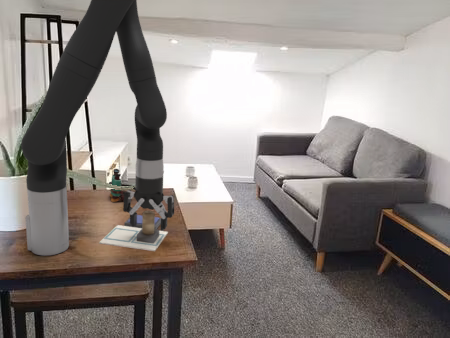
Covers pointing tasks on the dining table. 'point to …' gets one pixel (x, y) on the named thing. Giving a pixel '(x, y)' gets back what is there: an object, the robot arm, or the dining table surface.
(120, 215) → the dining table surface
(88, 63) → the robot arm
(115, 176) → the binoculars
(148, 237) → the stamp
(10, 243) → the dining table surface
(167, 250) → the dining table surface
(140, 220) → the ink pad
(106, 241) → the form board
